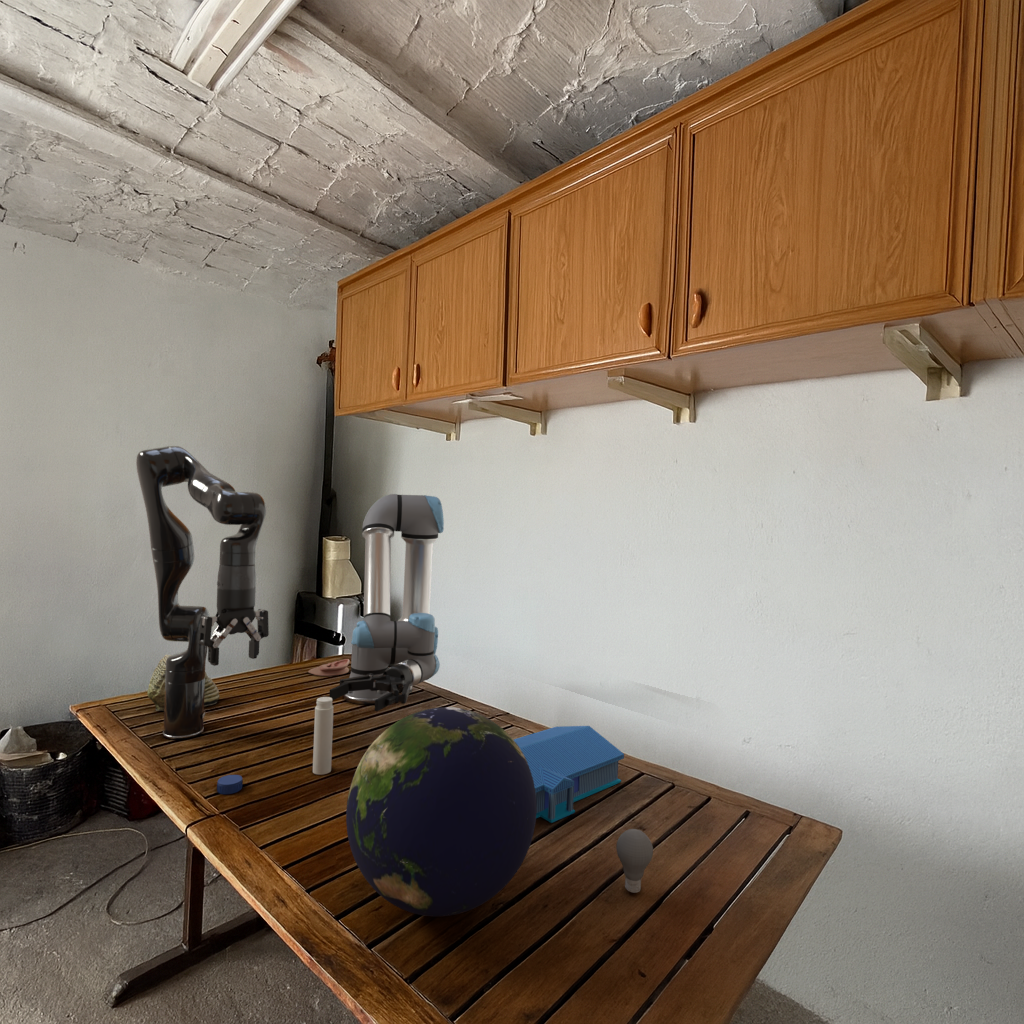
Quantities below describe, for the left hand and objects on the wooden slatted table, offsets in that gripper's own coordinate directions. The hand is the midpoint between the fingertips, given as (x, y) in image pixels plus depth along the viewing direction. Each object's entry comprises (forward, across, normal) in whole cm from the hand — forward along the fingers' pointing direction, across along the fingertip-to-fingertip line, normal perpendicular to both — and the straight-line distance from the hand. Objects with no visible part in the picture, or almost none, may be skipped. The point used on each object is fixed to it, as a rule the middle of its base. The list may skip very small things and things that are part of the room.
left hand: (234, 661), depth 135 cm
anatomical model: (+28, +69, +60) cm, 95 cm away
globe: (+28, +3, -59) cm, 66 cm away
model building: (+28, +44, -49) cm, 71 cm away
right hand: (+14, +28, -5) cm, 32 cm away
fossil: (+28, +17, +58) cm, 67 cm away
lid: (+26, 0, 0) cm, 26 cm away
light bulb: (+28, +26, -82) cm, 90 cm away
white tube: (+28, +19, -6) cm, 34 cm away
